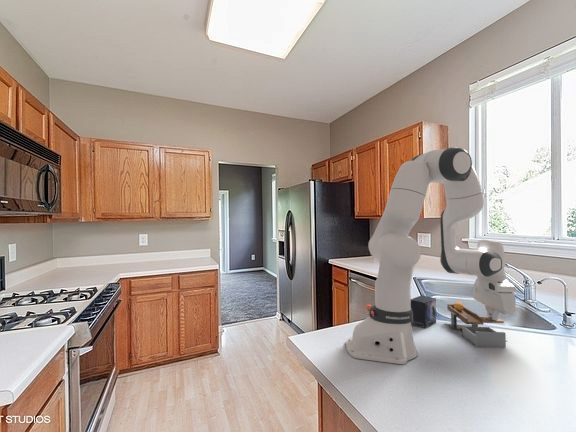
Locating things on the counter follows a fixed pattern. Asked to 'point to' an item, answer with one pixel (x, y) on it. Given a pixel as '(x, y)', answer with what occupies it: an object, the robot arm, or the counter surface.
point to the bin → (484, 337)
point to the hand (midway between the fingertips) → (492, 318)
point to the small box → (423, 311)
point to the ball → (458, 306)
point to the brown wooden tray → (471, 316)
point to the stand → (454, 323)
